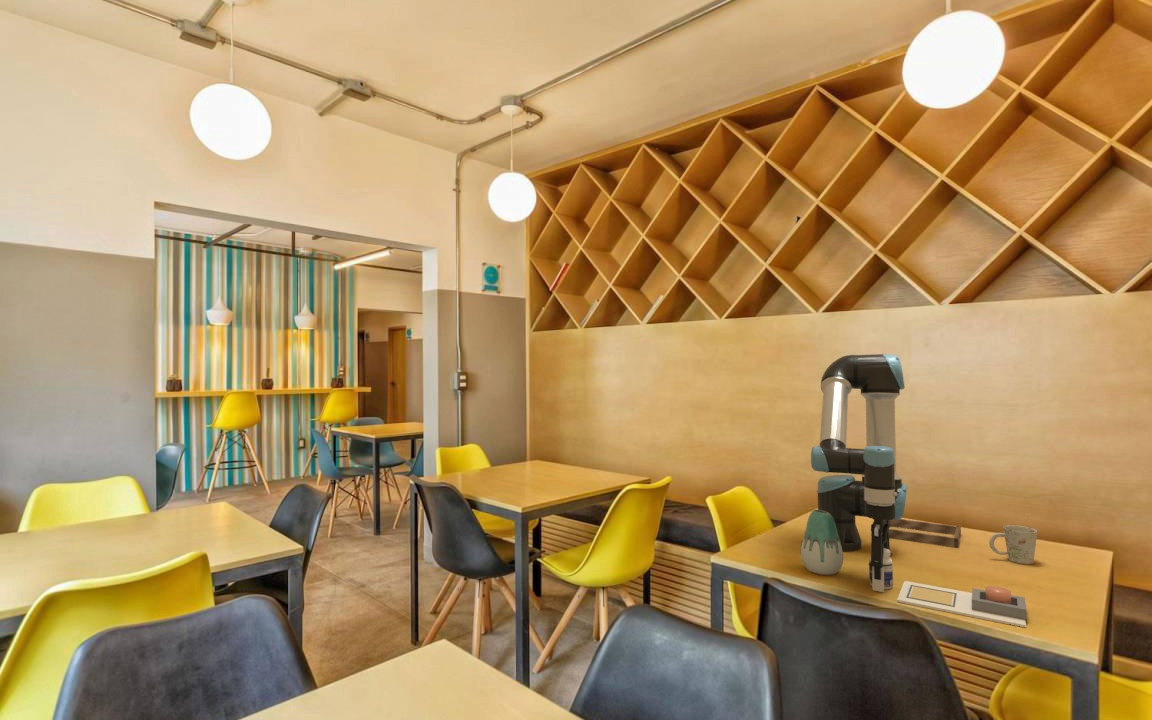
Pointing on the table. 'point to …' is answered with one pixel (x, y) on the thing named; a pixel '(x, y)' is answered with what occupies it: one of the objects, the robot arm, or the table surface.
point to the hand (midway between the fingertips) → (881, 585)
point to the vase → (821, 544)
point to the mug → (1017, 543)
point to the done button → (998, 594)
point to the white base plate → (964, 603)
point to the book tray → (922, 536)
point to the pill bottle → (885, 570)
